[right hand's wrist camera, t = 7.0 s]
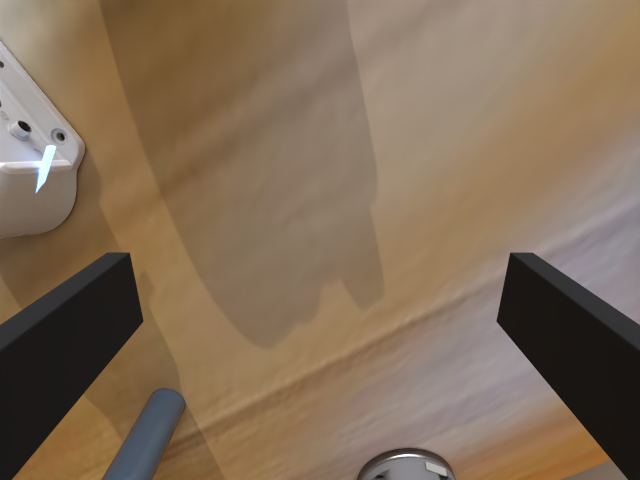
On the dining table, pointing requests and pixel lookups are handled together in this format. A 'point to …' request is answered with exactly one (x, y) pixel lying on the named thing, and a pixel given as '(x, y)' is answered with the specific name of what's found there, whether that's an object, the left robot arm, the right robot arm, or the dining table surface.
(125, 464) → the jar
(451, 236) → the dining table surface
